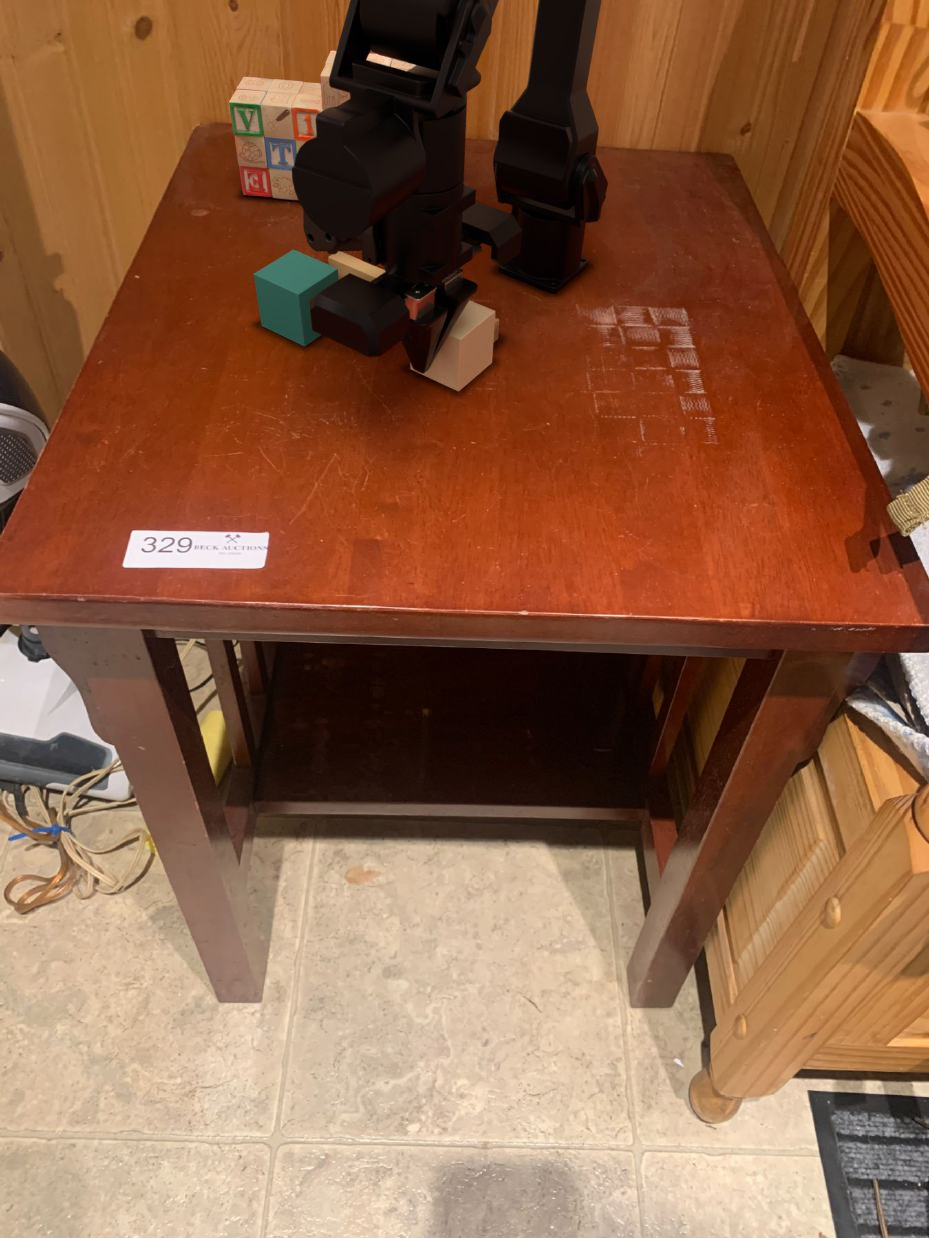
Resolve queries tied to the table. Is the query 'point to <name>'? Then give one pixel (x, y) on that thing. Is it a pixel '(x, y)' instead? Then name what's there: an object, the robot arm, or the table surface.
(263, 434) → the table surface
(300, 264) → the teal block
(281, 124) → the stack of blocks
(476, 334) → the cream block
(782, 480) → the table surface
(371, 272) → the rail
